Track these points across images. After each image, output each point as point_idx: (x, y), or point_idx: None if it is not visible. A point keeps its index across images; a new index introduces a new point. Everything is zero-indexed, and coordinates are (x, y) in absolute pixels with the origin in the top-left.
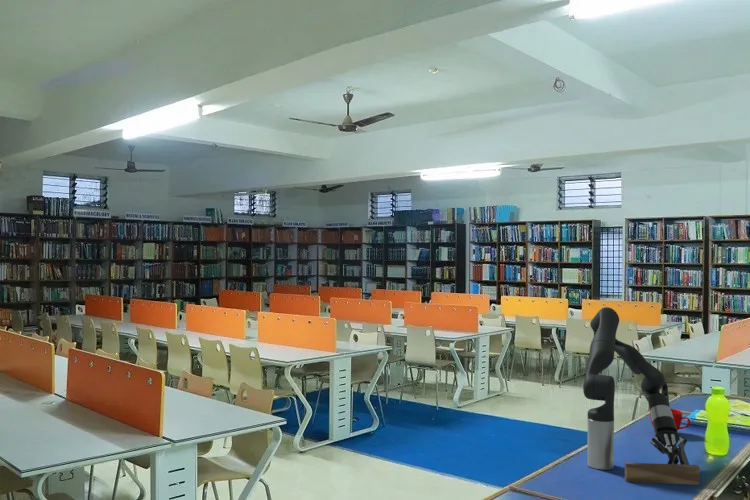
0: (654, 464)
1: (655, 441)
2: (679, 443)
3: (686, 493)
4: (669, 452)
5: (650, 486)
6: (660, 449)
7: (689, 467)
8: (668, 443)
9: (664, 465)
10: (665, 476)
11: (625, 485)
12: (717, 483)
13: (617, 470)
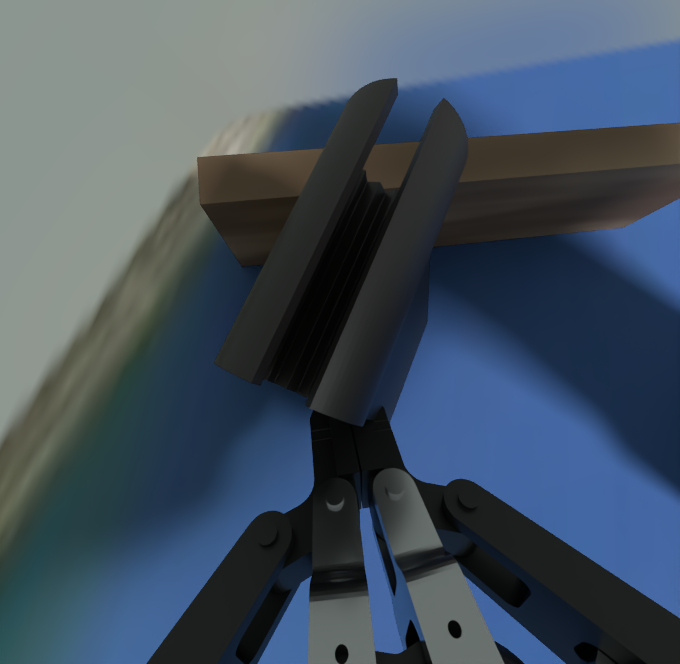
0: (551, 147)
1: (664, 628)
2: (339, 197)
3: (347, 96)
4: (400, 474)
5: None
6: (495, 561)
7: (284, 158)
8: (440, 602)
9: (479, 138)
10: None
11: None
12: (119, 287)
13: (668, 391)
